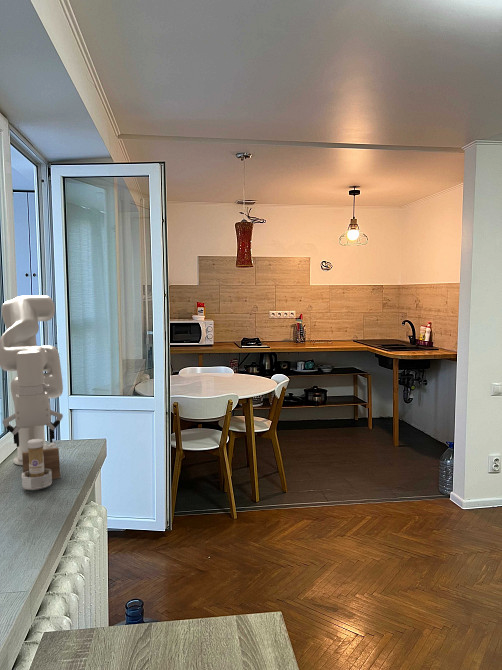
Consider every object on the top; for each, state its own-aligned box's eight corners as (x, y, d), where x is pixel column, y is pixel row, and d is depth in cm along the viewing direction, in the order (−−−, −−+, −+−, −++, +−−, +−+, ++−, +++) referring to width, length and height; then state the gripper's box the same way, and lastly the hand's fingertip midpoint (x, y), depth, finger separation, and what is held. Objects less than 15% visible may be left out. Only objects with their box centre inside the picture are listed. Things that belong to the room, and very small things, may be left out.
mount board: (60, 477, 174) (58, 448, 173) (24, 483, 170) (22, 453, 169) (59, 472, 179) (57, 443, 178) (24, 477, 175) (22, 448, 174)
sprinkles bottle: (30, 485, 162) (27, 443, 161) (29, 481, 166) (27, 439, 165) (46, 483, 164) (43, 441, 163) (45, 478, 168) (42, 437, 167)
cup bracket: (52, 487, 163) (51, 469, 162) (22, 492, 160) (21, 473, 159) (51, 476, 173) (50, 458, 172) (22, 480, 170) (21, 462, 169)
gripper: (60, 384, 169) (63, 436, 171) (1, 390, 162) (4, 443, 165) (61, 390, 162) (64, 443, 164) (-1, 395, 156) (3, 451, 158)
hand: (34, 443), depth 165 cm, fingers open, 9 cm apart
